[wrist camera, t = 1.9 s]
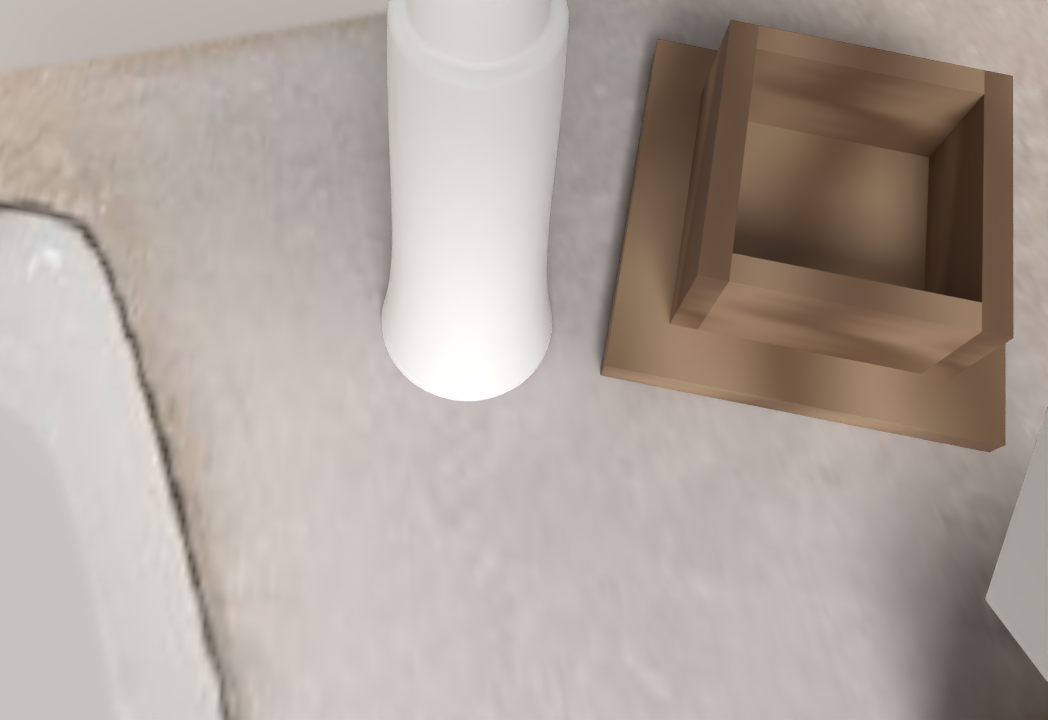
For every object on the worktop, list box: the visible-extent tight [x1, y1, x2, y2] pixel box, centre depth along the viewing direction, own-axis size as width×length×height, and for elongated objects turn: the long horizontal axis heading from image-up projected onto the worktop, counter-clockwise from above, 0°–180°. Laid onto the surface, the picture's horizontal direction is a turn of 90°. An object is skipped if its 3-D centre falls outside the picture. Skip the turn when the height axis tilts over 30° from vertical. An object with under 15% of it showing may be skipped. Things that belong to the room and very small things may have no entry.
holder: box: [601, 20, 1013, 452], centre depth 33 cm, size 14×14×5 cm
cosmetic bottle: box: [381, 0, 569, 401], centre depth 23 cm, size 6×6×22 cm
